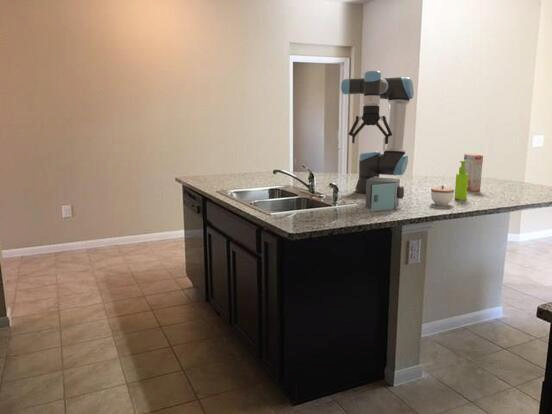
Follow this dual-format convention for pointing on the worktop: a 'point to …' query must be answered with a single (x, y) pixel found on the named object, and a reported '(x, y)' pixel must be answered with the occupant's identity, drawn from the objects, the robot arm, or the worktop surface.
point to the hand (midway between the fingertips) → (369, 150)
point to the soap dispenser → (461, 182)
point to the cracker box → (473, 171)
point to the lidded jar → (442, 195)
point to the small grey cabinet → (382, 181)
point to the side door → (384, 197)
